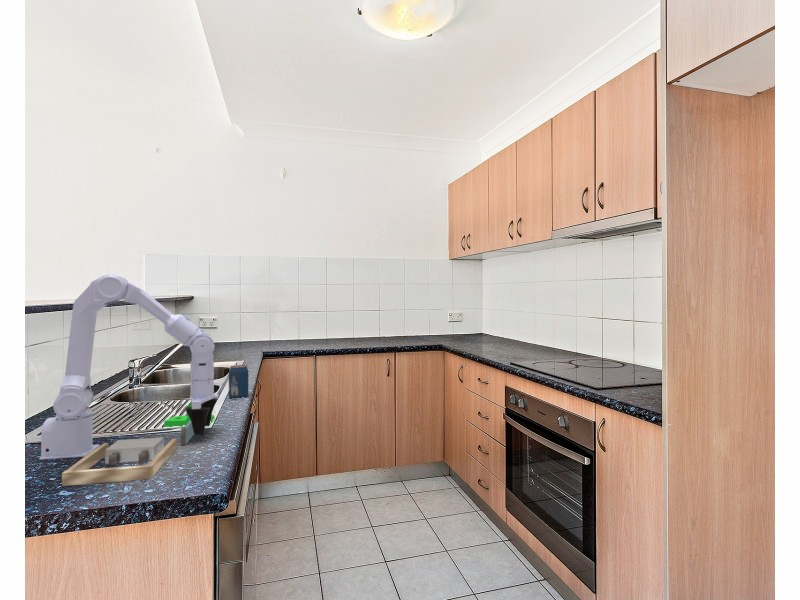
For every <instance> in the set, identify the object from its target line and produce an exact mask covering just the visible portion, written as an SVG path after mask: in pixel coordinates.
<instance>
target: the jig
mask: <svg viewBox="0 0 800 600" xmlns="http://www.w3.org/2000/svg"><path fill="white" fill-rule="evenodd" d="M180 445H181V447H184V446H186V445H187V444H186V428H185V427H184V426H182V427H181V428H180ZM108 447H110V446H109V442H103V443H102V444H100V446H99V447H98V448H96V449H95V450H94V451H92V452H91V453H89V454H88V455H87V456H84V457H82V458H81V459H80V460H79V461H77V462H76V463H75V464H73V465H72V466H70V467H69V468H67V469H66V470H65V471H63V472H62V473H61V486H62V487H66V486H77V485H78V486H80V485H91V484H104V483H106V484H107V483H117V482H118V483H119V482H128V481H139V480H140V481H141V480H150V479H153V478H154V476H156V474H157V473H158V472H159V470H160V469H161V468H162V467H163V465H164V464H165V463H166V462H167V461H168V460H169V458H170V457H171V456H172V455H173V454H174V452H176V450H177V449H178V438H172V439H171V440H170V441H169V442H168V443H167V444H166V445H165V446H164V448H163V449H162V451H161V452H160V453H159V454H158V455H157V456H156V457H155V458H154V459H153V460H150V462H149V463H148V464H146V465H142V464H145V463H147V462H148V461H147V452H142V453H139V461H138V464H141V465H133V466H120V467H112V466H116V465H118V463H117V454H112V455H109V464H108V466H109V467H108V468H107V467H106V468H104V467H103V468H94V469H92V467H93V466H95V464H97V463H98V462H100V461H101V460H102V459H103V458H105V450H106V449H107V448H108Z"/></svg>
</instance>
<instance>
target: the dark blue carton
mask: <svg viewBox="0 0 800 600" xmlns="http://www.w3.org/2000/svg"><path fill="white" fill-rule="evenodd" d="M228 396H229V397H228V398H230V397H231V398H242V397H246V396H247V397H248V396H249V369H248V366H247V365H245V364H239V365H238V364H236V365H230V369H229V370H228ZM247 397H246V398H247Z"/></svg>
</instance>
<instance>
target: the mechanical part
mask: <svg viewBox="0 0 800 600" xmlns="http://www.w3.org/2000/svg"><path fill="white" fill-rule="evenodd" d="M187 407H192V402H191V401H190V403H189V404H188V406H187ZM213 419H214V420H215V415H214V414H212V416H211V421H212V420H213ZM189 421H190V417H189V415H188V414H187V415H175V416H171V417H169V418H167V419H165V420H164V422H163V423H164V424H163V425H164V428H173V426H179V427H184V426H183V425H186V424H187V423H188V422H189Z"/></svg>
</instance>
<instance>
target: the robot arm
mask: <svg viewBox="0 0 800 600" xmlns="http://www.w3.org/2000/svg"><path fill="white" fill-rule="evenodd" d="M119 301H122V302H126V303H130V304H135V305H138V306H139V307H141V308H142V309H144V310H145V311H147V313H149V314H150V315H152V316H153V317H154V318H156V319H158V321H160V322H162V323H163V324H164V332H166V333H167V334H168V335H170V336H171V337H172V338H173V339H175V340H176V341H178V342H179V343H180V344H181V345H183V346H184V347H189V349H190V352H191V361H190V363H189V364H190V365H189V366H190V386H189V387H190V394H189V395H190V396H189V401H190V403H191V402H192V407H188V406H187V407H186V408H185V411H186V414H187V416H188V415H189V417H190V420H191V423H192V427H193V431H194V435H195V436H196V435H203V434H204V432H205V429H206V427H210V425H211V423H210V421H211V416H212V415H213V411H214V409H215V408H214V407H215V405H216V403H217V401H218V398H219V397H220V396H219V395H220V394H218V393H217V394H215V388H214V387H215V382H214V381H215V380H214V379H215V371H214V370H215V369H214V368H215V365H214V364H215V362H214V353H213V352H214V350H215V348H216V346H215V343H214V340H213V339H212V336H210V335H209V334H208V333H206V332H205V329H203V328H199V327H198V326H197V325H195V324H194V323H193V322H191V317H189V316H188V315H185V316H184V315H183V314H181V313H179V314H178V313H177V314H173V313H171V312H170V311H169V310H168V309H167V308H165V307H164V306H163V305H162V303H160V302H159V301H157V300H156V299H155V298H153V297H152V296H151V295H150V294H149V293H148V292H146V291H145V290H144V289H142V287H141V288H140V287H139V286H137V285H136V284H134V283H132V282H129V281H128V280H127V279H126V278H124V277H122V276H119V275H115V274H105V275H102V276H100V277H97V278H96V279H93V280H92V281H91V282H90V283H89V285H88V286H87V287H86V288H85V289H84V290H83V292H82V293H80V295H79V296H77V298H76V299H75V300H74V301H73V305H72V312H71V320H70V329H69V338H68V346H67V347H68V348H67V354H66V355H67V356H66V365H65V372H64V373H65V374H64V378H63V380H62V382H61V385H60V387H59V388H60V390H59V394H58V395H57V396H56V398H55V399H54V402H53V405H52V406H53V407H52V408H53V411H54V413H55V414H56V415H55V416H54V417H48V418H46V420H45V421H44V422H43V424H42V426H41V432H40V433H41V434H40V435H41V436H40V438H41V439H40V443H41V445H40V446H41V447H40V448H41V449H40V451H41V452H40V454H41V455H40V457H39V460H52V459H53V460H54V459H68V458H81V457H82V458H84V457H85V456H87V455H88V454H90V453H91V452H92V451H94V450H95V449H96V448H98V447H99V446H101V444H99V443H98V444H93V441H94V440H93V436H94V435H93V432H94V431H93V428H94V427H93V422H94V421H93V410H91V409H90V406H91V405H92V403H93V402H94V396H95V395H94V392H93V390H92V389H91V388H92V387H91V383H92V380H91V370H92V360H93V351H94V350H93V349H94V341H95V333H96V325H97V323H96V322H97V315H98V312H99V311H100V310H102V309H103V308H105V307H107V306H109V305H110V304H113V303H116V302H119Z"/></svg>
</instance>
